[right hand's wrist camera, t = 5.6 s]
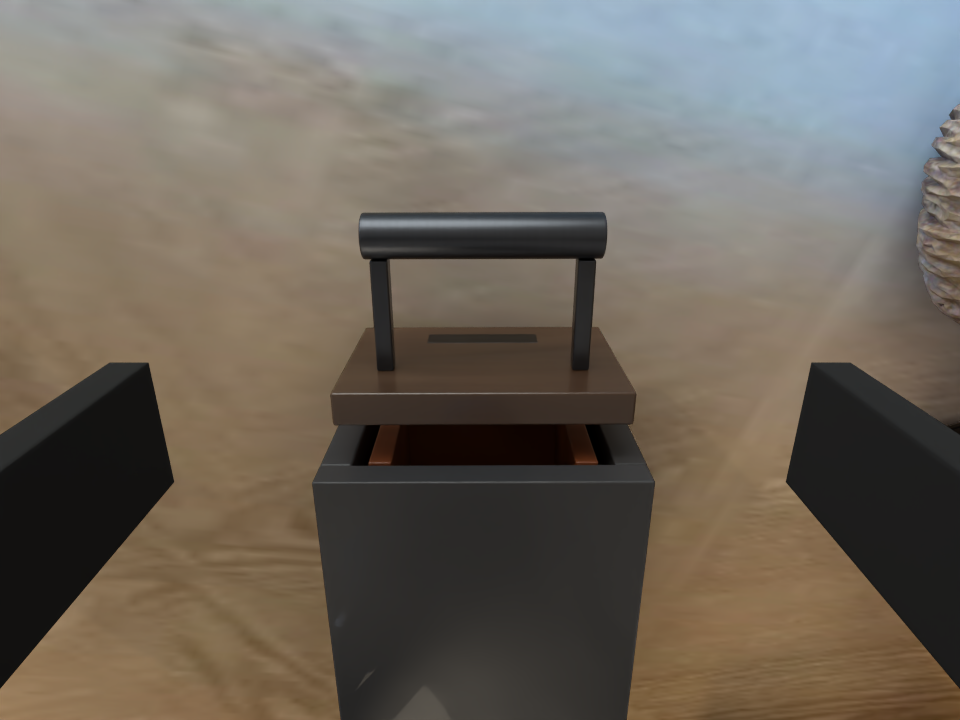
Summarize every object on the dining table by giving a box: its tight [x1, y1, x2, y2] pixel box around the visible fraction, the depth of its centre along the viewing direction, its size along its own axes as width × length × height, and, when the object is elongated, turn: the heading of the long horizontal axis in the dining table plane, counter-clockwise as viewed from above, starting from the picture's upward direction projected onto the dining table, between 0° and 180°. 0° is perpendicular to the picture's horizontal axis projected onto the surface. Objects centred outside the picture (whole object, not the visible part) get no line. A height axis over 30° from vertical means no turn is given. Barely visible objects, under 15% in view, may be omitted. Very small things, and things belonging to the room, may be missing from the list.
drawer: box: [330, 212, 636, 466], centre depth 25 cm, size 24×10×7 cm, turn 0°
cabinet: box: [312, 424, 655, 720], centre depth 28 cm, size 20×11×9 cm, turn 0°
